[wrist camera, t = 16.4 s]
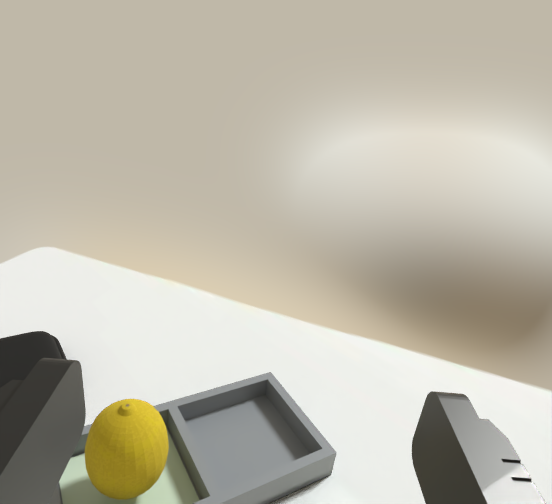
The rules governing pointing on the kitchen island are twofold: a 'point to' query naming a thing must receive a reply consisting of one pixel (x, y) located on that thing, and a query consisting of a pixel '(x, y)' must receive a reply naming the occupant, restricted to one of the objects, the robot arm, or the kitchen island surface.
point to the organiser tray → (222, 450)
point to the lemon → (126, 449)
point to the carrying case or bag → (26, 354)
